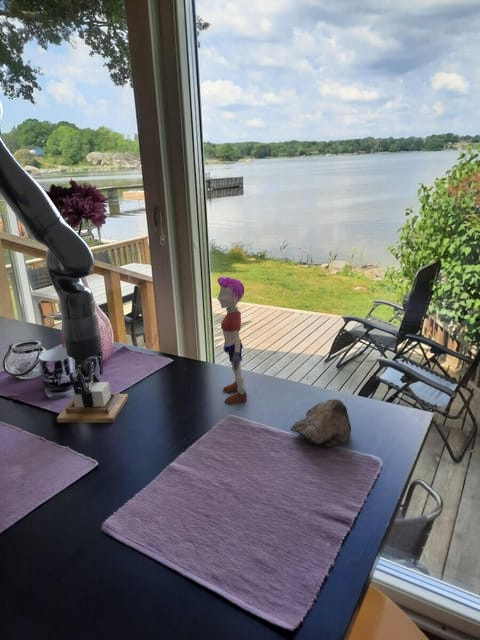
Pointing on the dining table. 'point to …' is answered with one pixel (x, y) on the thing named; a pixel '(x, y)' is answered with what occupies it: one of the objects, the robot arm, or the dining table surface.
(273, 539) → the dining table surface
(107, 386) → the beige rectangular block
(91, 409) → the small square wooden tray
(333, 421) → the rock
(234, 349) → the toy
